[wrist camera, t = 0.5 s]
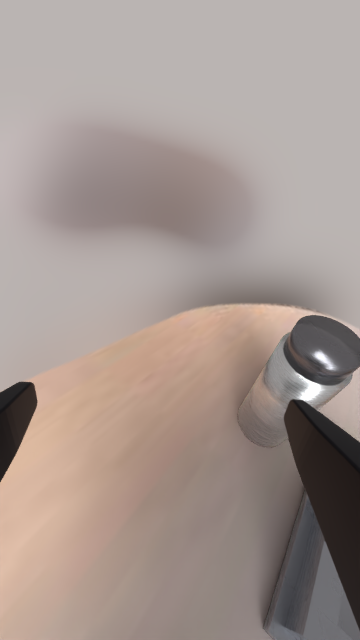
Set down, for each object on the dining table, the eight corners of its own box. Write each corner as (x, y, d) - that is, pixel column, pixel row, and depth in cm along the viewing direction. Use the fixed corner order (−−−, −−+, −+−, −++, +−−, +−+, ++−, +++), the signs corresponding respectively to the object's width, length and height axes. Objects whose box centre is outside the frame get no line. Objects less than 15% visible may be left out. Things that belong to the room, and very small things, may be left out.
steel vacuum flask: (296, 441, 24) (390, 366, 15) (250, 452, 23) (321, 379, 14) (271, 394, 28) (336, 309, 18) (230, 402, 26) (276, 316, 17)
